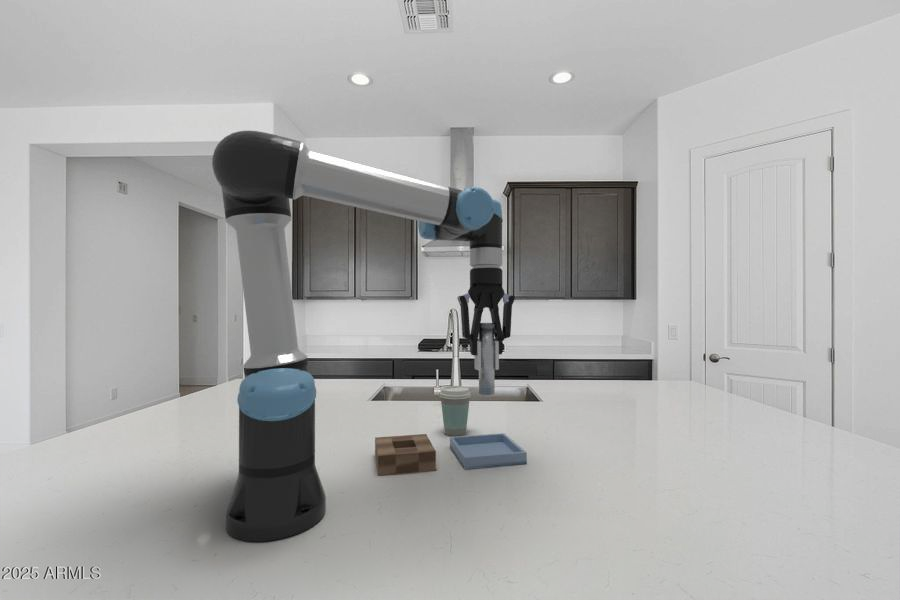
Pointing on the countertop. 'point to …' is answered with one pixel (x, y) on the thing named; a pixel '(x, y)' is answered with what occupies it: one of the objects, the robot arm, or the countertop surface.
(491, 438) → the tray
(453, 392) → the coffee cup
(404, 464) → the socket block
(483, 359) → the pin
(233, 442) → the countertop surface
